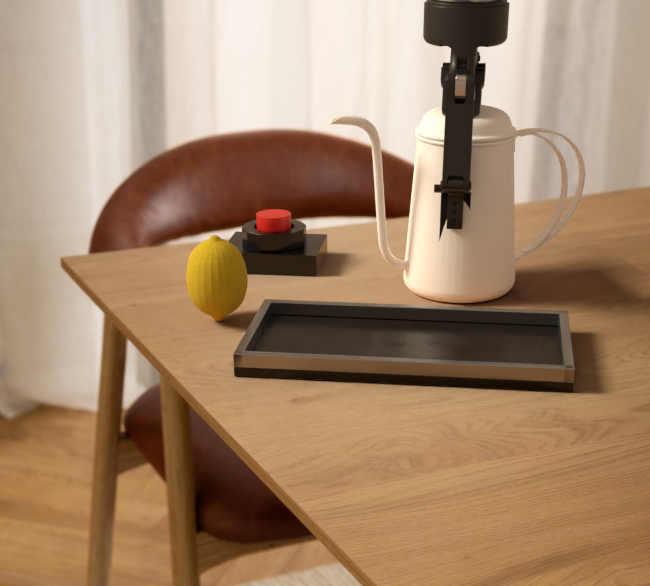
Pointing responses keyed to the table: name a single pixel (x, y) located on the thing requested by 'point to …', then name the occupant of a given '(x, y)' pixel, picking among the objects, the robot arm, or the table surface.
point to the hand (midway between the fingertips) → (455, 245)
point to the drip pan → (409, 345)
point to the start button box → (281, 250)
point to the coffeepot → (464, 210)
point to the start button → (273, 220)
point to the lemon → (216, 277)
